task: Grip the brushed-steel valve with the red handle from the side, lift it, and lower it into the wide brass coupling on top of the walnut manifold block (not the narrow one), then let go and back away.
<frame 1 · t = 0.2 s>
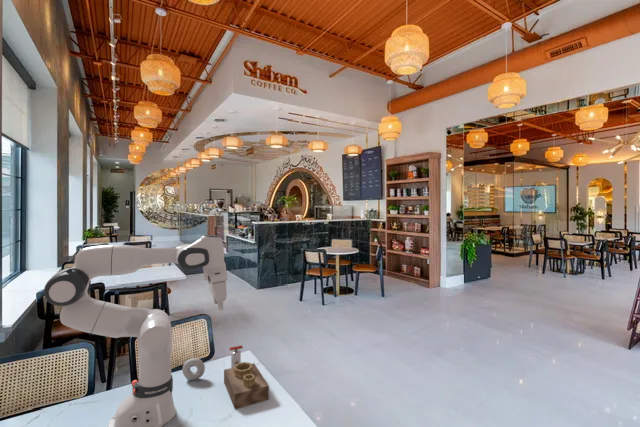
hand: (218, 306, 135), 39 cm above the table, tool pointing down, fingers open, 8 cm apart
valve: (235, 372, 158), on the table
donut: (193, 380, 151), on the table
manifold block: (245, 390, 142), on the table
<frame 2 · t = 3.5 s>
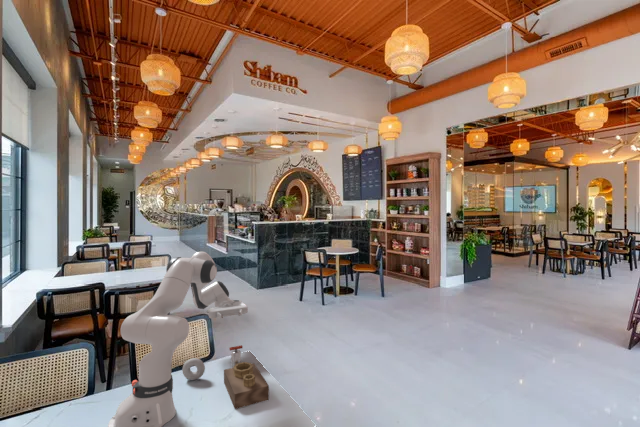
hand: (231, 315, 169), 24 cm above the table, tool horizontal, fingers open, 8 cm apart
nothing on the table moved.
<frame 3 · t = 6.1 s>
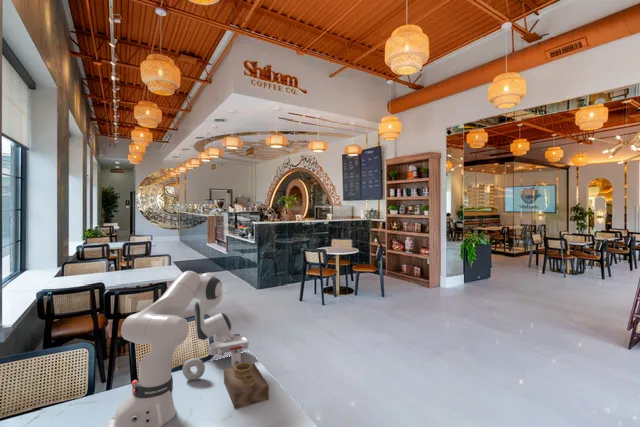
hand: (231, 352, 165), 7 cm above the table, tool horizontal, fingers open, 8 cm apart
nothing on the table moved.
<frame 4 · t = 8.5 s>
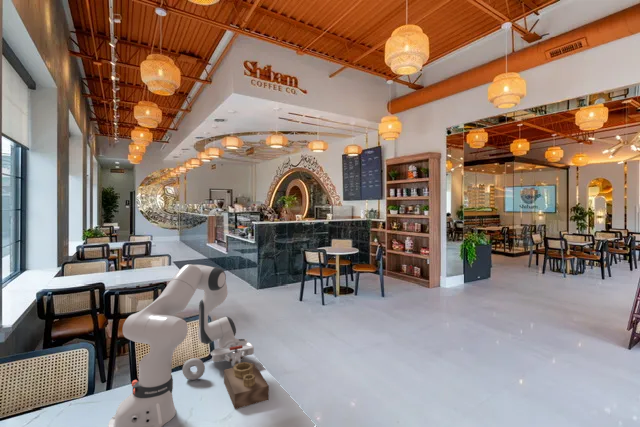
hand: (236, 358, 157), 7 cm above the table, tool horizontal, fingers closed on valve, 4 cm apart
valve: (235, 372, 158), on the table, touching gripper
everything else where it was.
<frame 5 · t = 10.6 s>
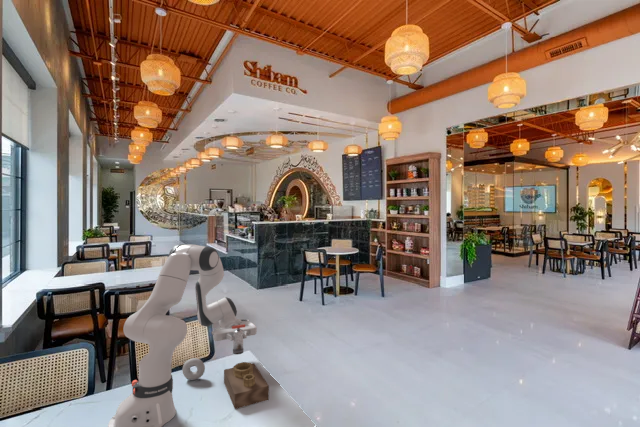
hand: (238, 337, 151), 19 cm above the table, tool horizontal, fingers closed on valve, 4 cm apart
valve: (238, 352, 152), point 12 cm above the table, touching gripper
everything else where it was.
when the fingers open (14 cm above the table, at t = 13.2 s): valve drops 1 cm, resting on manifold block.
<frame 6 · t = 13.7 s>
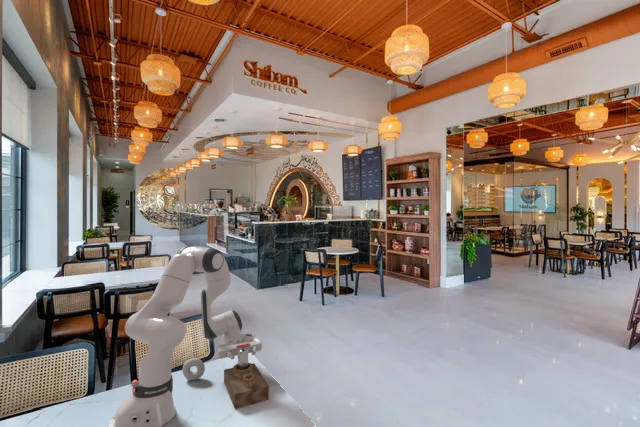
hand: (243, 355, 145), 14 cm above the table, tool horizontal, fingers open, 8 cm apart
valve: (243, 372, 146), point 6 cm above the table, touching manifold block
everything else where it was.
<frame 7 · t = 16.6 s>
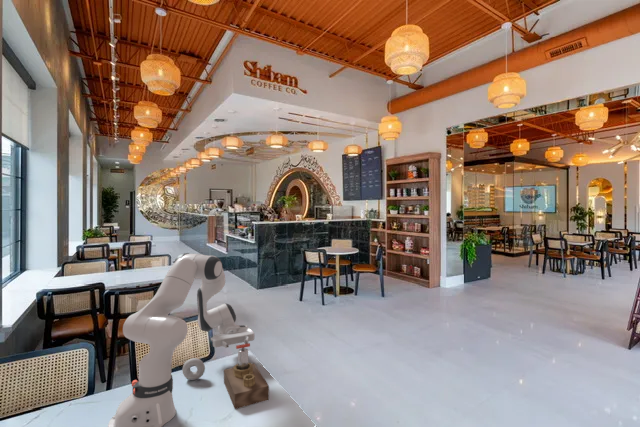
hand: (237, 344, 156), 15 cm above the table, tool horizontal, fingers open, 8 cm apart
nothing on the table moved.
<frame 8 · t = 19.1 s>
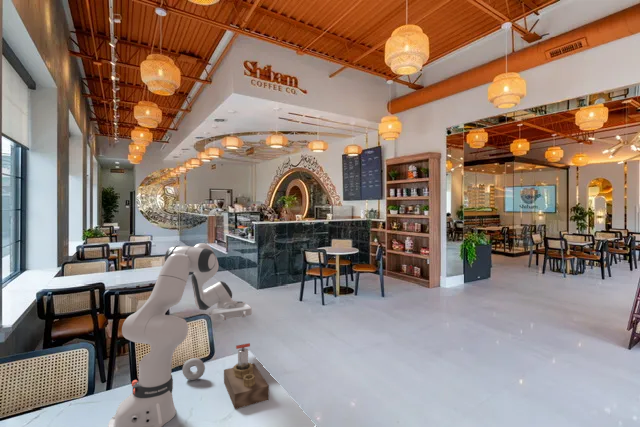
hand: (234, 317, 161), 26 cm above the table, tool horizontal, fingers open, 8 cm apart
nothing on the table moved.
at the end: valve 0.0 cm from the target spot on the manifold block, point 6.2 cm above the manifold block's base; valve tilted 0°; the gripper is holding nothing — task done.
